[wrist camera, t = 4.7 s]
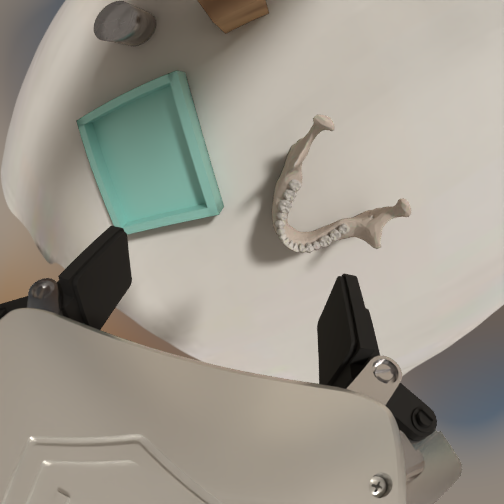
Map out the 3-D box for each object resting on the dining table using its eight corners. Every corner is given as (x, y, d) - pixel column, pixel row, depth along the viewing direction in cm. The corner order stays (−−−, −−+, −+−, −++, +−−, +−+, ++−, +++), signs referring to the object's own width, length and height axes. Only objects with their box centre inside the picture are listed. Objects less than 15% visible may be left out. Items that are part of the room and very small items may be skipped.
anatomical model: (232, 206, 30) (239, 211, 20) (291, 132, 29) (322, 107, 20) (318, 272, 33) (355, 302, 23) (369, 202, 32) (420, 208, 22)
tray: (88, 117, 27) (76, 120, 25) (185, 72, 24) (176, 70, 22) (127, 228, 35) (118, 236, 33) (223, 206, 31) (219, 214, 29)
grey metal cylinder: (118, 23, 20) (91, 15, 16) (152, 5, 19) (127, -7, 15) (125, 52, 23) (97, 48, 18) (159, 35, 22) (134, 26, 17)
